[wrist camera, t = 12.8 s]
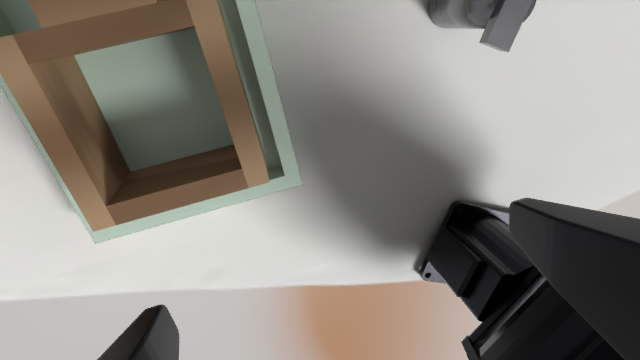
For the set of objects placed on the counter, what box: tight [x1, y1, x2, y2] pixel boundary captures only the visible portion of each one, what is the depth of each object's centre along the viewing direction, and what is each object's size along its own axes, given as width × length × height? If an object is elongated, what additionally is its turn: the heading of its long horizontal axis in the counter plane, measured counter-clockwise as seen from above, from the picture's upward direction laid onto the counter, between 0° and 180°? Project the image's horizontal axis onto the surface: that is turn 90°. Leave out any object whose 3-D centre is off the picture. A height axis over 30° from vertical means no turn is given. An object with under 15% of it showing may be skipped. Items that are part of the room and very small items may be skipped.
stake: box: [428, 0, 536, 52], centre depth 17 cm, size 2×4×6 cm, turn 162°
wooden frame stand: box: [0, 0, 270, 232], centre depth 15 cm, size 12×8×4 cm, turn 12°
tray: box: [0, 0, 303, 244], centre depth 17 cm, size 15×11×2 cm
